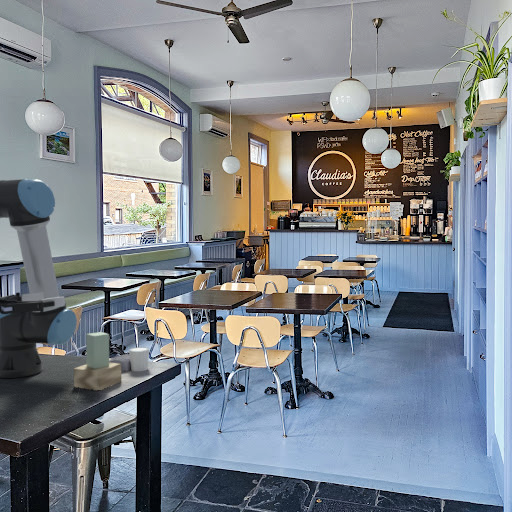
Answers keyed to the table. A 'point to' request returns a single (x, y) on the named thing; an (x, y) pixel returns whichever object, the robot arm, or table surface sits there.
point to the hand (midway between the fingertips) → (53, 298)
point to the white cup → (139, 358)
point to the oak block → (97, 376)
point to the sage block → (97, 350)
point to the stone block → (122, 362)
